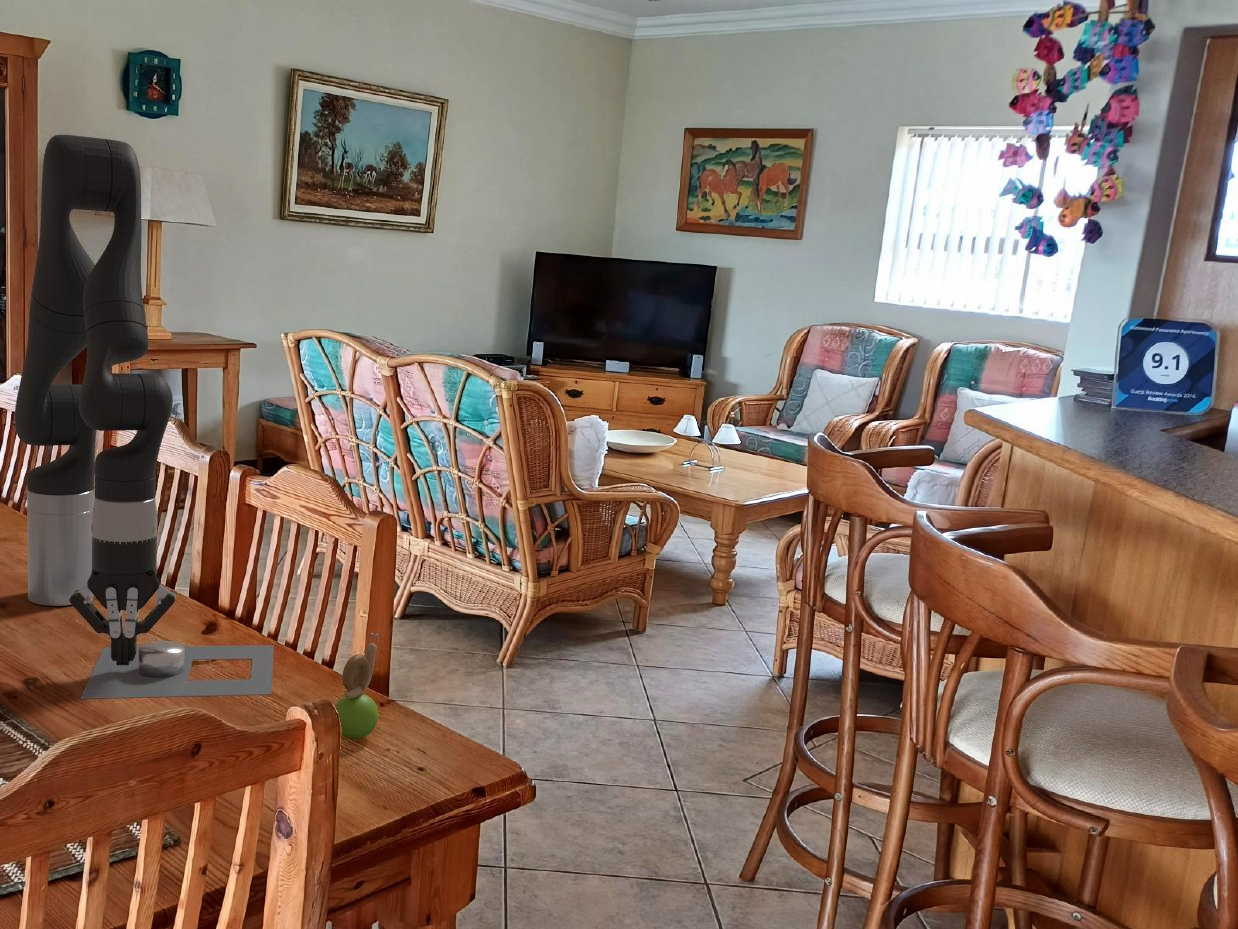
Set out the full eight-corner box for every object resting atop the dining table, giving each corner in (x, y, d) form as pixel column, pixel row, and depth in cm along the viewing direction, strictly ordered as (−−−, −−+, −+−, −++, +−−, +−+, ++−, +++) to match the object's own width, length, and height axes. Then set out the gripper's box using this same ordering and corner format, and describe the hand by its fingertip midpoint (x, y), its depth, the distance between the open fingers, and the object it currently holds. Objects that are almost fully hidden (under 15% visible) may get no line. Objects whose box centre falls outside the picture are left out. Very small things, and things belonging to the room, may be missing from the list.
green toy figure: (390, 731, 139) (395, 636, 137) (361, 750, 133) (366, 652, 131) (351, 722, 141) (355, 628, 139) (321, 741, 135) (325, 644, 133)
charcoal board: (80, 710, 138) (80, 698, 138) (103, 657, 155) (103, 647, 155) (271, 705, 144) (271, 694, 144) (273, 655, 161) (274, 645, 161)
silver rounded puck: (140, 663, 150) (140, 641, 150) (185, 662, 152) (185, 640, 151) (136, 679, 145) (136, 656, 144) (183, 677, 147) (183, 655, 146)
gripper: (184, 525, 149) (181, 653, 152) (73, 523, 145) (72, 653, 148) (177, 540, 142) (175, 673, 145) (61, 538, 138) (60, 674, 141)
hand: (123, 663), depth 147 cm, fingers closed
